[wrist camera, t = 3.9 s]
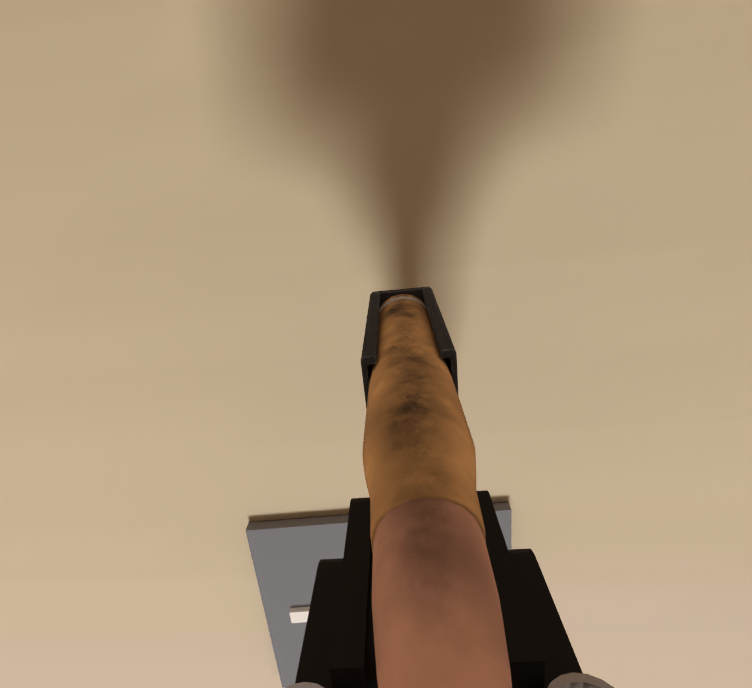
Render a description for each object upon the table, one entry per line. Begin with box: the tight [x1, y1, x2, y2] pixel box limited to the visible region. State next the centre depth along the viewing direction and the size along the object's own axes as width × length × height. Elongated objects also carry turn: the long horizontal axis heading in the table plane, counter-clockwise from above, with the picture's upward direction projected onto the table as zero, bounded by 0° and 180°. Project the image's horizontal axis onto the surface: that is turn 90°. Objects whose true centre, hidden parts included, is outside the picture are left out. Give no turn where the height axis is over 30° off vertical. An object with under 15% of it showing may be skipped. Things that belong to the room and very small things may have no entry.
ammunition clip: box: [361, 287, 512, 688], centre depth 9 cm, size 11×2×12 cm, turn 6°
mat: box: [246, 502, 511, 688], centre depth 25 cm, size 14×12×1 cm
